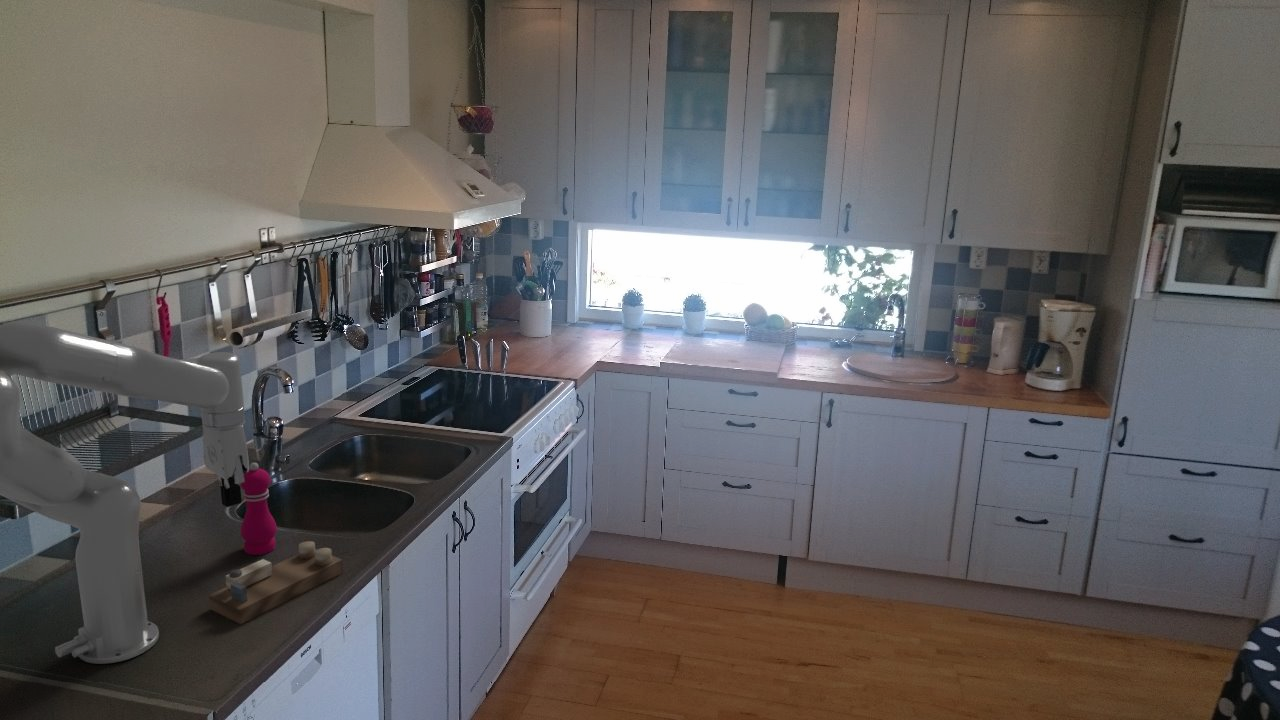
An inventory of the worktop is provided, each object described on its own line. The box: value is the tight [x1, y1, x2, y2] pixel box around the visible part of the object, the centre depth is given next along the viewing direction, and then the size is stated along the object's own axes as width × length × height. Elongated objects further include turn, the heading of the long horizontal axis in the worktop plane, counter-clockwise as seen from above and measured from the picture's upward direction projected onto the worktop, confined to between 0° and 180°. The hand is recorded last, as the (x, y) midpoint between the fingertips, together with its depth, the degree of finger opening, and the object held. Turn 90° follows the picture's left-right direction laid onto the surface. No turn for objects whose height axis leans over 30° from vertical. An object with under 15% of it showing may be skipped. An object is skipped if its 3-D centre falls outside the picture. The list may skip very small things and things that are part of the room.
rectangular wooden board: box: [208, 540, 344, 625], centre depth 177 cm, size 24×9×6 cm, turn 149°
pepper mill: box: [240, 462, 278, 556], centre depth 192 cm, size 7×7×20 cm
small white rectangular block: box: [225, 558, 273, 590], centre depth 174 cm, size 8×3×3 cm, turn 149°
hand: (232, 503), depth 177 cm, fingers closed
